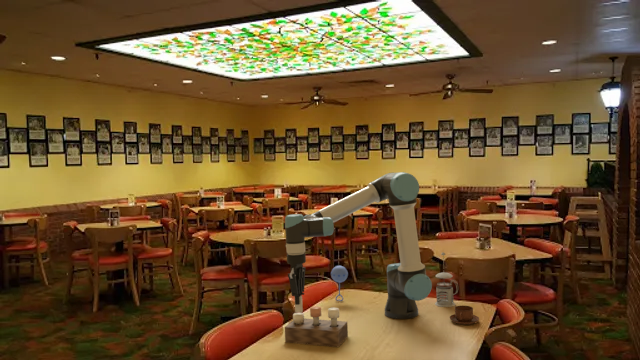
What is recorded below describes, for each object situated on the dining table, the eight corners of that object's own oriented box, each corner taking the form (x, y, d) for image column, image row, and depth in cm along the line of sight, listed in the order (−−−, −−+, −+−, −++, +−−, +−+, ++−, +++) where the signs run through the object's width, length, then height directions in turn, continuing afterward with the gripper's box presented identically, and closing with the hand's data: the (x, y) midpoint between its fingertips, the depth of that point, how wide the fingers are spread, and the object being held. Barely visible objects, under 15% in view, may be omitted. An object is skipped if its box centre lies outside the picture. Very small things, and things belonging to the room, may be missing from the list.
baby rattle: (349, 298, 252) (347, 263, 252) (348, 303, 243) (347, 267, 243) (332, 298, 253) (331, 264, 253) (331, 303, 244) (329, 267, 244)
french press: (440, 300, 242) (438, 250, 242) (462, 303, 235) (460, 251, 234) (430, 305, 235) (429, 253, 234) (453, 308, 227) (452, 255, 227)
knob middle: (323, 324, 195) (322, 306, 195) (319, 327, 191) (318, 309, 191) (313, 323, 197) (312, 306, 196) (309, 326, 192) (308, 309, 192)
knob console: (347, 336, 196) (347, 321, 196) (338, 347, 184) (337, 331, 184) (297, 332, 203) (296, 317, 203) (285, 342, 192) (284, 327, 192)
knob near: (341, 325, 192) (340, 307, 192) (337, 329, 188) (337, 311, 188) (330, 324, 194) (330, 307, 194) (327, 328, 190) (326, 310, 190)
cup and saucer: (480, 327, 201) (480, 312, 201) (450, 326, 203) (450, 311, 203) (477, 318, 213) (477, 304, 213) (449, 317, 215) (448, 303, 215)
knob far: (306, 330, 198) (305, 313, 198) (302, 333, 194) (301, 316, 193) (296, 329, 199) (295, 312, 199) (291, 332, 195) (291, 315, 195)
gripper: (293, 250, 203) (296, 306, 204) (280, 256, 191) (283, 316, 192) (310, 250, 201) (313, 307, 201) (298, 256, 188) (301, 317, 189)
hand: (299, 311), depth 196 cm, fingers closed
